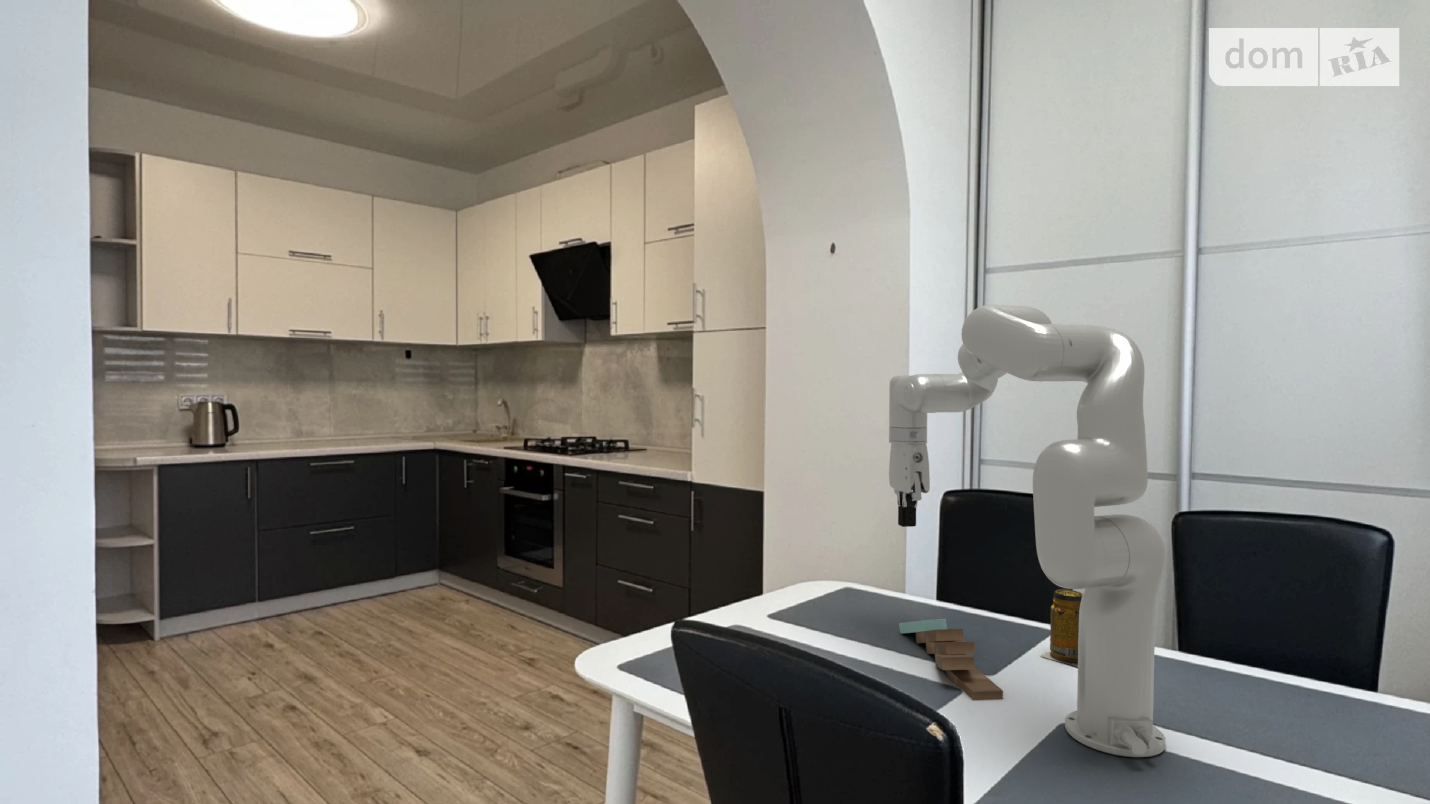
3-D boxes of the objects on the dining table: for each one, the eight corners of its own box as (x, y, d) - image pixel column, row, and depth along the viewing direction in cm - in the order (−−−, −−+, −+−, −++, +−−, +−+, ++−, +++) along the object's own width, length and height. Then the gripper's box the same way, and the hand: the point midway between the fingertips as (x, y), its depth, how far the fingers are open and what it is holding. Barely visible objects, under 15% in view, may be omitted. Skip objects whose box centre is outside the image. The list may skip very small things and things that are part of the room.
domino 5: (974, 677, 129) (1002, 703, 119) (946, 678, 128) (972, 704, 118) (974, 666, 129) (1003, 690, 119) (946, 667, 128) (973, 691, 118)
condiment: (1059, 648, 142) (1060, 585, 141) (1105, 661, 135) (1106, 595, 135) (1039, 657, 137) (1041, 592, 137) (1086, 671, 130) (1088, 603, 130)
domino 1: (923, 631, 150) (947, 629, 141) (900, 633, 149) (923, 631, 140) (921, 621, 151) (945, 618, 142) (898, 623, 150) (921, 620, 141)
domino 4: (965, 665, 131) (974, 669, 122) (935, 666, 132) (943, 670, 123) (963, 653, 132) (973, 656, 122) (934, 654, 133) (942, 657, 123)
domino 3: (952, 652, 139) (975, 653, 129) (926, 653, 138) (947, 654, 129) (951, 641, 139) (974, 641, 130) (925, 642, 139) (946, 642, 129)
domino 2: (941, 642, 144) (964, 640, 135) (916, 643, 143) (937, 641, 134) (940, 631, 145) (962, 628, 135) (915, 632, 144) (936, 629, 135)
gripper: (942, 438, 145) (941, 532, 146) (909, 433, 160) (908, 518, 160) (905, 439, 144) (904, 533, 144) (876, 433, 159) (875, 519, 159)
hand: (907, 525), depth 152 cm, fingers closed
